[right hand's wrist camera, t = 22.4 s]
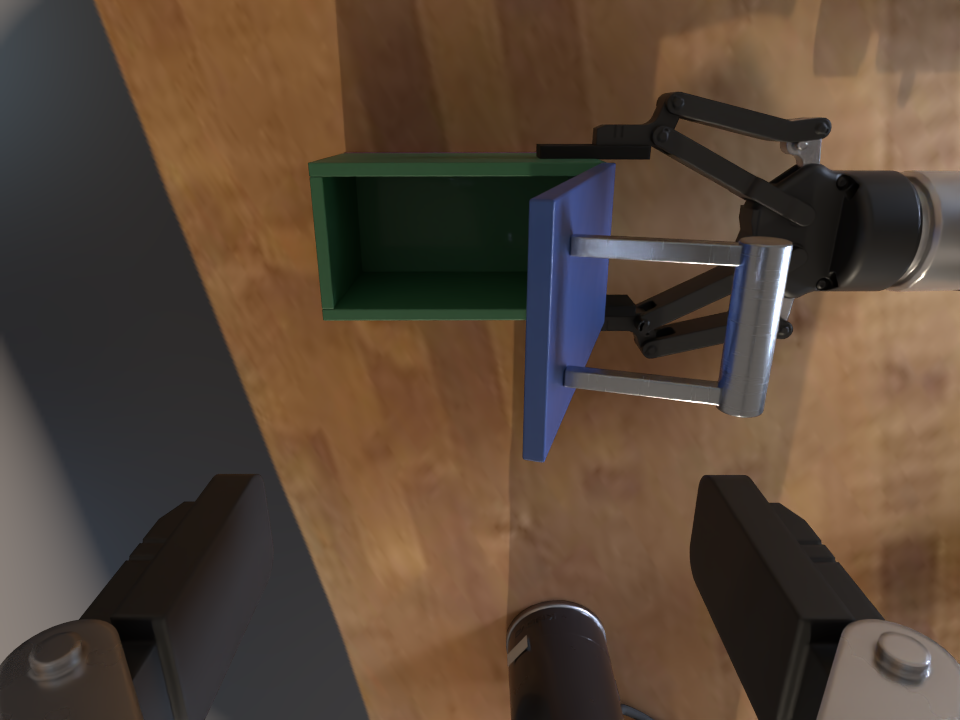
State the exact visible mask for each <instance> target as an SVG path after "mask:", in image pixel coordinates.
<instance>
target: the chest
mask: <svg viewBox="0 0 960 720" xmlns="http://www.w3.org/2000/svg"><path fill="white" fill-rule="evenodd" d="M601 163H606V162H604V161H601V160H598V159H539V158H538V157H537V156H536V152H346V153H343V154H339V155H336V156H332V157H328V158H325V159H321V160H317V161H313V162H310V163H308V167H309V176H310V186H311V197H312V207H313V218H314V228H315V239H316V249H317V260H318V270H319V281H320V291H321V302H322V308H323V310H322V312H323V320H526V307H527V268H528V230H529V201H530V199H532V198H534V197H536V196H538V195H540V194H542V193H544V192H546V191H548V190H550V189H552V188H554V187H556V186H558V185H559V184H561V183H563V182H565V181H567V180H569V179H571V178H573V177H575V176H577V175H579V174H581V173H583V172H585V171H587V170H589V169H591V168H593V167H595V166H597V165H599V164H601Z"/></svg>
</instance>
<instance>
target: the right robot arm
mask: <svg viewBox="0 0 960 720" xmlns="http://www.w3.org/2000/svg"><path fill="white" fill-rule="evenodd" d="M272 563H273V540H272V533H271V526H270V519H269V512H268V505H267V499H266V492H265V485H264V481H263V479H262V477H261V475H259V474H217V475H215V476H214V477H213V478H212V480H211V481H210V482H209V484H208V485H207V486H206V488H205V489H204V490H203V492H202V493H201V494H200V496H199V497H198V498H197V500H196V501H195V502H183V503H182V504H180V505H179V506H177V507H176V508H175V509H173V510H172V511H170V512H169V513H167V514H166V515H164V516H163V517H161V518H160V519H159V520H158V521H157V522H156V523H155V525H154V526H153V527H152V529H151V530H150V531H149V532H148V534H147V535H146V536H145V537H144V538H143V543H140V544H139V545H138V546H137V547H136V549H135V550H134V551H133V552H132V554H131V555H130V558H129V561H125V562H124V564H123V565H122V566H121V567H120V569H119V570H118V571H117V572H116V574H115V575H114V576H113V577H112V579H111V580H110V581H109V582H108V584H107V585H106V586H105V587H104V589H103V590H102V591H101V592H100V594H99V595H98V596H97V597H96V599H95V600H94V601H93V602H92V604H91V605H90V606H89V608H88V609H87V610H86V611H85V613H84V614H83V615H82V616H81V618H80V619H79V620H75V621H70V622H66V623H63V624H60V625H57V626H54V627H51V628H49V629H47V630H44V631H42V632H40V633H39V634H37V635H35V636H33V637H31V638H30V639H28V640H27V641H25V642H24V643H22V644H21V645H20V646H19V647H17V648H16V649H15V650H14V651H13V652H12V653H11V654H10V655H8V657H7V658H6V659H5V660H4V661H3V662H2V664H1V665H0V720H205V718H206V716H207V714H208V712H209V710H210V707H211V705H212V703H213V701H214V699H215V696H216V694H217V692H218V690H219V687H220V685H221V683H222V681H223V679H224V677H225V675H226V672H227V670H228V668H229V666H230V663H231V661H232V659H233V657H234V655H235V653H236V650H237V648H238V646H239V644H240V642H241V639H242V637H243V635H244V633H245V631H246V628H247V626H248V624H249V622H250V620H251V617H252V615H253V613H254V611H255V609H256V607H257V604H258V602H259V600H260V598H261V595H262V593H263V591H264V589H265V587H266V585H267V582H268V580H269V577H270V574H271V570H272ZM690 564H691V570H692V574H693V578H694V581H695V583H696V585H697V588H698V590H699V592H700V594H701V596H702V598H703V601H704V603H705V605H706V607H707V609H708V611H709V614H710V616H711V618H712V620H713V622H714V624H715V627H716V629H717V631H718V633H719V635H720V637H721V640H722V642H723V644H724V646H725V648H726V650H727V653H728V655H729V657H730V659H731V661H732V663H733V666H734V668H735V670H736V672H737V674H738V676H739V679H740V681H741V683H742V685H743V687H744V689H745V692H746V694H747V696H748V698H749V700H750V702H751V705H752V707H753V709H754V711H755V713H756V715H757V718H758V720H960V665H959V664H958V662H957V661H956V660H955V659H954V658H953V656H952V655H950V654H949V653H948V652H947V651H946V650H945V649H944V648H943V647H941V646H940V645H939V644H938V643H936V642H935V641H933V640H932V639H930V638H929V637H927V636H925V635H923V634H921V633H920V632H918V631H916V630H913V629H911V628H909V627H906V626H903V625H900V624H897V623H894V622H890V621H885V619H884V618H883V617H882V616H881V614H880V613H879V612H878V611H877V609H876V608H875V607H874V606H873V604H872V603H871V602H870V601H869V599H868V598H867V597H866V596H865V594H864V593H863V592H862V591H861V589H860V588H859V587H858V586H857V584H856V583H855V582H854V581H853V579H852V578H851V577H850V576H849V574H848V573H847V572H846V571H845V570H844V568H843V567H842V566H841V565H840V563H839V562H835V557H834V556H833V555H832V553H831V552H830V551H829V550H828V548H827V547H826V546H825V545H822V544H821V540H820V538H819V537H818V536H817V535H816V533H815V532H814V531H813V530H812V528H811V527H810V526H809V525H808V523H807V522H806V521H805V520H804V519H802V518H801V517H799V516H798V515H796V514H795V513H793V512H792V511H790V510H789V509H788V508H786V507H785V506H783V505H782V504H780V503H768V501H767V500H766V499H765V497H764V496H763V494H762V493H761V492H760V490H759V489H758V488H757V486H756V485H755V484H754V482H753V481H752V480H751V479H750V478H749V477H748V476H746V475H704V476H703V477H702V478H701V480H700V483H699V488H698V494H697V501H696V508H695V515H694V522H693V529H692V535H691V542H690ZM506 648H507V654H508V655H507V661H508V666H509V689H510V707H511V720H624V717H623V715H626V716H629V717H631V718H634V719H636V720H654V719H652V718H651V717H649V716H647V715H646V714H644V713H642V712H640V711H638V710H636V709H634V708H632V707H629V706H627V705H624V704H620V697H619V693H618V689H617V685H616V681H615V679H614V675H613V671H612V667H611V662H610V657H609V653H608V649H607V645H606V636H605V632H604V628H603V625H602V623H601V622H600V620H599V619H598V617H597V616H596V615H595V614H594V613H593V612H592V611H590V610H589V609H587V608H586V607H584V606H582V605H579V604H576V603H573V602H568V601H547V602H542V603H539V604H536V605H533V606H531V607H529V608H527V609H525V610H524V611H523V612H521V613H520V614H519V615H518V616H517V617H516V618H515V619H514V620H513V621H512V623H511V625H510V627H509V629H508V631H507V636H506Z"/></svg>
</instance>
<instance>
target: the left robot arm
mask: <svg viewBox="0 0 960 720" xmlns="http://www.w3.org/2000/svg"><path fill="white" fill-rule="evenodd" d="M656 106H657V107H656V109H655V111H654V114H653V116H652V118H651V119H650V120H649V121H648V122H647V123H645V124H640V125H599V126H597V127H595V128H593V140H592V144H537V150H536V156H537V157H538V158H539V159H650V152H651V146H652V147H653V148H655V149H657V150H659V151H660V152H662V153H664V154H666V155H668V156H669V157H671V158H673V159H675V160H676V161H678V162H680V163H682V164H683V165H685V166H687V167H689V168H691V169H692V170H694V171H696V172H698V173H699V174H701V175H703V176H705V177H707V178H708V179H710V180H712V181H714V182H715V183H717V184H719V185H721V186H722V187H724V188H726V189H728V190H729V191H730V192H732V193H734V194H735V195H737V196H739V197H741V198H742V199H744V200H746V202H745V204H744V205H741V207H740V214H739V221H740V232H739V234H738V237H737V239H736V241H735V242H739V240H740V239H741V238H745V237H774V238H781V239H785V240H788V241H791V242H792V244H793V247H792V253H791V258H790V264H789V270H788V275H787V281H786V287H785V292H784V298H783V304H782V309H781V315H780V320H779V326H778V332H777V337H776V338H777V339H785V338H787V337H789V336H790V335H791V334H792V332H793V327H792V325H791V324H790V323H789V322H788V321H787V320H788V317H789V314H790V311H791V307H792V304H793V301H794V298H798V297H800V296H802V295H804V294H807V293H809V292H813V291H881V290H884V289H886V290H889V291H960V171H904V172H902V173H899V172H896V171H832V170H830V169H828V168H826V167H825V166H824V165H822V164H820V153H821V140H822V139H823V138H825V137H826V136H828V134H829V133H830V131H831V122H830V121H829V120H828V119H827V118H795V119H787V120H786V119H782V118H778V117H774V116H771V115H767V114H763V113H759V112H755V111H752V110H748V109H744V108H740V107H736V106H733V105H729V104H725V103H721V102H717V101H713V100H710V99H706V98H702V97H698V96H694V95H691V94H687V93H683V92H672V93H665V94H662V95H661V96H660V97H659V98H658V100H657V104H656ZM679 118H680V119H684V120H688V121H692V122H696V123H699V124H703V125H707V126H711V127H715V128H719V129H723V130H727V131H730V132H734V133H738V134H742V135H746V136H750V137H754V138H757V139H762V140H767V141H779V142H780V148H781V151H782V152H783V153H785V154H790V155H792V156H794V157H795V159H796V163H797V164H796V165H794V166H793V167H791V168H790V169H788V170H787V171H785V172H784V173H782V174H781V175H779V176H778V177H776V178H775V179H773V180H772V181H770V182H769V183H768V182H767V181H765V180H763V179H761V178H759V177H756V176H754V175H752V174H751V173H749V172H747V171H745V170H744V169H742V168H740V167H738V166H737V165H735V164H733V163H731V162H730V161H728V160H726V159H724V158H723V157H721V156H719V155H717V154H716V153H714V152H712V151H711V150H709V149H707V148H705V147H704V146H702V145H700V144H698V143H697V142H695V141H693V140H691V139H690V138H688V137H686V136H684V135H683V134H681V133H679V132H677V131H676V130H674V129H675V127H676V124H677V122H678V120H679ZM734 271H735V266H724V265H718V266H717V267H715V268H713V269H711V270H709V271H707V272H705V273H702V274H700V275H698V276H696V277H694V278H692V279H690V280H688V281H685V282H683V283H681V284H679V285H677V286H675V287H673V288H671V289H668V290H666V291H664V292H662V293H660V294H658V295H656V296H653V297H651V298H649V299H647V300H645V301H643V302H641V303H639V304H636V305H635V304H634V303H633V301H632V300H631V299H630V298H629V297H628V295H606V304H605V318H604V324H603V326H602V329H601V331H631V332H633V334H634V341H635V343H636V345H637V346H638V348H639V349H640V350H641V352H642V353H643V355H644V356H645V357H646V358H657V357H661V356H666V355H671V354H675V353H680V352H685V351H689V350H694V349H699V348H703V347H708V346H713V345H717V344H722V343H724V339H725V332H726V325H727V318H728V312H729V311H728V312H723V313H719V314H714V315H710V316H705V317H700V318H696V319H691V320H687V321H682V322H678V323H673V324H668V325H665V324H667V323H669V322H671V321H673V320H675V319H678V318H680V317H682V316H684V315H686V314H689V313H691V312H693V311H695V310H697V309H699V308H702V307H704V306H706V305H708V304H710V303H712V302H715V301H717V300H719V299H721V298H723V297H725V296H728V295H730V294H731V291H732V284H733V277H734ZM662 325H664V326H662Z"/></svg>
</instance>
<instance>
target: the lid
mask: <svg viewBox="0 0 960 720" xmlns="http://www.w3.org/2000/svg"><path fill="white" fill-rule="evenodd" d="M615 167H616V164H615V163H601V164H599V165H597V166H595V167H593V168H591V169H589V170H587V171H585V172H583V173H581V174H579V175H577V176H575V177H573V178H571V179H569V180H567V181H565V182H563V183H561V184H559V185H558V186H556V187H554V188H552V189H550V190H548V191H546V192H544V193H542V194H540V195H538V196H536V197H534V198H532V199H530V201H529V230H528V268H527V307H526V345H525V384H524V422H523V459H524V460H530V461H536V462H544V461H545V459H546V457H547V454H548V452H549V450H550V447H551V445H552V443H553V440H554V438H555V436H556V433H557V431H558V429H559V426H560V424H561V422H562V419H563V417H564V415H565V412H566V410H567V408H568V405H569V403H570V401H571V398H572V396H573V394H574V391H575V389H576V388H579V389H587V390H595V391H604V392H612V393H620V394H629V395H637V396H645V397H654V398H662V399H671V400H679V401H687V402H696V403H704V404H712V405H716V407H717V409H719V410H720V411H722V412H723V413H726V414H728V415H732V416H736V417H744V418H750V417H757V416H759V415H761V414H762V413H763V411H764V405H765V399H766V394H767V388H768V382H769V377H770V371H771V366H772V360H773V354H774V349H775V343H776V337H777V332H778V326H779V320H780V315H781V309H782V304H783V298H784V292H785V287H786V281H787V275H788V270H789V264H790V258H791V253H792V247H793V244H792V242H791V241H788V240H785V239H781V238H774V237H745V238H741V239H740V240H739V242H725V241H706V240H686V239H666V238H646V237H627V236H611V222H612V208H613V194H614V181H615ZM609 259H625V260H642V261H658V262H675V263H691V264H708V265H724V266H735V271H734V277H733V284H732V291H731V298H730V305H729V312H728V318H727V325H726V332H725V339H724V346H723V353H722V359H721V366H720V373H719V380H718V382H716V381H707V380H698V379H689V378H680V377H671V376H662V375H652V374H643V373H634V372H625V371H616V370H607V369H598V368H589V367H585V366H586V363H587V361H588V359H589V356H590V354H591V352H592V349H593V347H594V345H595V343H596V340H597V338H598V336H599V333H600V331H601V329H602V326H603V324H604V318H605V304H606V291H607V277H608V263H609Z"/></svg>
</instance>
